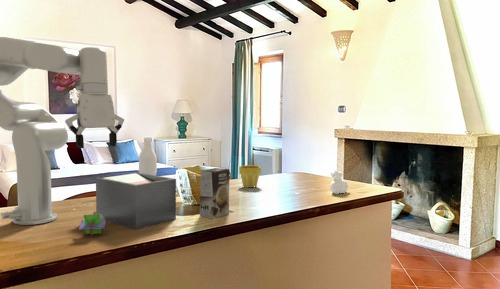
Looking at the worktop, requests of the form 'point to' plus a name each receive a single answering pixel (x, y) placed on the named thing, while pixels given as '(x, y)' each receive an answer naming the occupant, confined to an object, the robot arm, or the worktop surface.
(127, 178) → the trapdoor
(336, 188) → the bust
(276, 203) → the worktop surface
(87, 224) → the geometric puzzle
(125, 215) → the bin
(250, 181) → the plant pot
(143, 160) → the water bottle
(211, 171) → the coffee box
